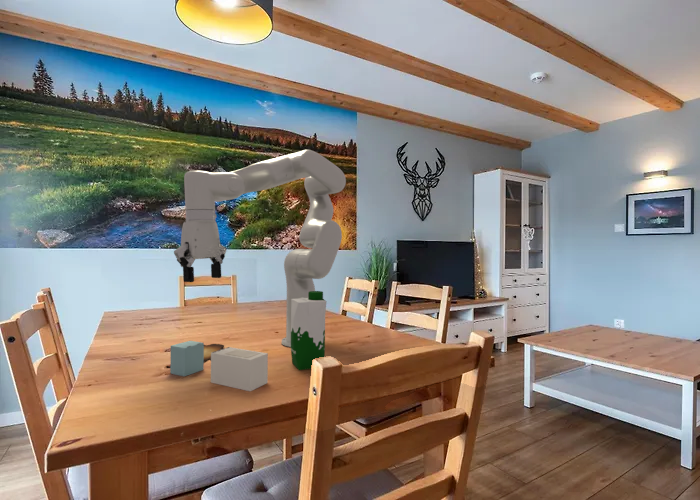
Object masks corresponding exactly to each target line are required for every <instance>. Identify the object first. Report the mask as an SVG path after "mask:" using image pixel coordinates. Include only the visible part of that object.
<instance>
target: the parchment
mask: <svg viewBox="0 0 700 500" xmlns="http://www.w3.org/2000/svg"><path fill="white" fill-rule="evenodd" d="M224 346H225V345H224V344H221V343H210V344H204V363H205V362H208V361H211V353H212V352H214V351H218V350H222V349H223V348H224ZM166 368H170V366H169V365H166Z"/></svg>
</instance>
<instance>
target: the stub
mask: <svg viewBox="0 0 700 500" xmlns="http://www.w3.org/2000/svg"><path fill="white" fill-rule="evenodd" d="M204 345H205V344H204V342H201V341H195V340H188V341H184V342H183V341H182V342H181V343H180V342H179V343H175V344H172V345H170V366H169V368H170V370H169V371H170V374H171V375H172V374H173V375H175V376H180V377H186V376H189V375H193V374H194V373H198V372H200V371H203V370H205V369H204V367H205V366H204V364H205V362H204Z"/></svg>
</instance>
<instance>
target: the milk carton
mask: <svg viewBox="0 0 700 500" xmlns="http://www.w3.org/2000/svg"><path fill="white" fill-rule="evenodd" d="M308 297H309V298H300V299H291V347H290V351H291V352H290V353H291V363H292V364H293V365H294V366H295V368H296V369H297V370H298V371H304V370H312V369H311V365H312V360H313V359H315V358H319V357H324V356H325V354H326V352H325V351H326V311H327V300H326V299H324V292H323V291H321V290H315V291H310V292H309V294H308Z"/></svg>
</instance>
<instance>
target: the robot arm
mask: <svg viewBox="0 0 700 500" xmlns="http://www.w3.org/2000/svg"><path fill="white" fill-rule="evenodd" d="M183 179H184V180H183V181H184V184H183V185H184V205H185V221H184V222H183V223H182V229H181V235H180V236H181V237H180V246H179V247H178V248H176V249H174V250H173V254H174V256H175V258H176V261H177V262H178V263H179V265H180V267H181V268H182V274H183V275H182V277H183V282H184V283H194V282H195V273H194V272H195V270H194V269H195V268H194V266H192V265H193V264H194V262H195V260H201V259H202V260H203V259H204V260H205V259H209V260H210V262H212V263H211V264H210V273H211V274H210V275H211V278H213V279H221V278H222V264H223V263H224V262H223V261H224V259H225V257H226V253H227V247H225V246H224V245H222V244H221V242H220V233H219V227H218V224H217V223H218V222H216V219H217V217H218V216H217V214H216V202H223V201H224V202H225V201H231V200H235V199H237V198H239V197H240V196H242V195H244V194H248V193H253V192H261V191H265V190H268V189H272V188H275V187H278V186H281V185H284V184H288V183H292V182H294V181H297V180H300V179H304V184H303V185H304V188H305V191H306V194H307V197H308V200H309V209H308V211H307V214H306V217H305V220H304V221H303V224H302V227H301V229H300V231H299V232H300V233H299V236H298V238H299V243H300V244H301V245H302V246H303V247H305V248H297V249H293V250H291V251H290V252H288V253H287V255H286V256H285V258H284V260H283V261H284V263H283V269H284V274H285V280H286V313H285V314H286V316H285V317H286V331H285V332H286V334H285V335H286V337H283V338H282V339H281V345H283V346H285V347H287V348H288V347H289V348H291V299H300V298H309V297H308V294H309V292H310V291H316V287H315V283H314V280H320V279H324V278H325V277H327V275H329V273H330V272H331V269H332V267H333V265H334V262H335V260H336V257H337V256H338V255H337V254H338V251H339V249H340V246H341V243H342V237H343V235H342V229H341V226H340V225H339V224H338V222H336V221H334V220H332V219H333V216H334V206H333V202H332V200H331V197H330V195H331V194H337V193H340V192H342V191H343V190H344V188H345V187H346V185H347V184H346V183H347V180H346V179H347V178H346V176H345V173H344V172H343V170H341V168H339V167H338V166H337V165H336V164H334V163H333V162H332V161H330V160H329V159H327V158H326V157H324V156H323V155H322V154H320V153H318V152H317V151H314V150H311V149H303V150H298V151H297V152H293V153H289V154H286V155H280V156H277V157H275V158H270V159H266V160H262V161H259V162H256V163H252V164H250V165H248V166H246V167H243V168H240V169H236V170H233V171H229V172H228V171H226V172H209V171H206V170H190V171H189V170H188V171H187V172H185V173H184V177H183ZM307 248H308V249H307Z"/></svg>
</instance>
